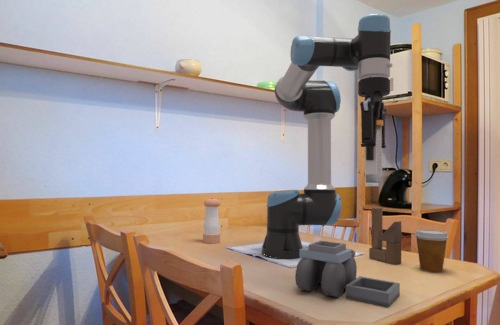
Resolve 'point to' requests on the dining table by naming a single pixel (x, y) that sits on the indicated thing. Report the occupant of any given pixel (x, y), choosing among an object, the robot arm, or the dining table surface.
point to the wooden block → (390, 235)
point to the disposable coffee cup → (431, 249)
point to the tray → (373, 291)
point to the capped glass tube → (377, 177)
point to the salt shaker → (211, 221)
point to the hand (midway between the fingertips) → (373, 174)
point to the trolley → (325, 267)
